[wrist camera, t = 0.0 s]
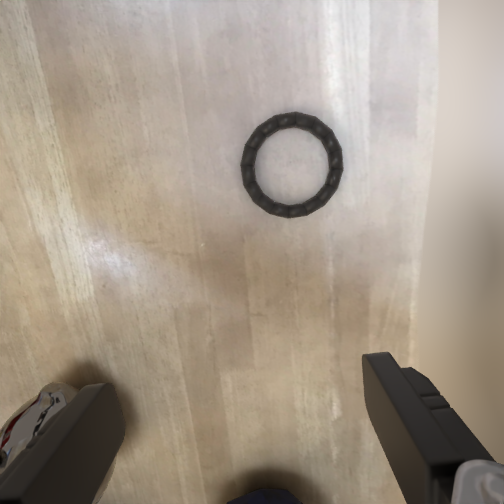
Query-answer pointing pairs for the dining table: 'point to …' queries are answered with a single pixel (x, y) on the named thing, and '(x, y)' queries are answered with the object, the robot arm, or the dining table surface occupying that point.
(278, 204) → the hoop
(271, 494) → the decorative orb
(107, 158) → the dining table surface
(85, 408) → the robot arm
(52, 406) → the piggy bank
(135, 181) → the dining table surface
